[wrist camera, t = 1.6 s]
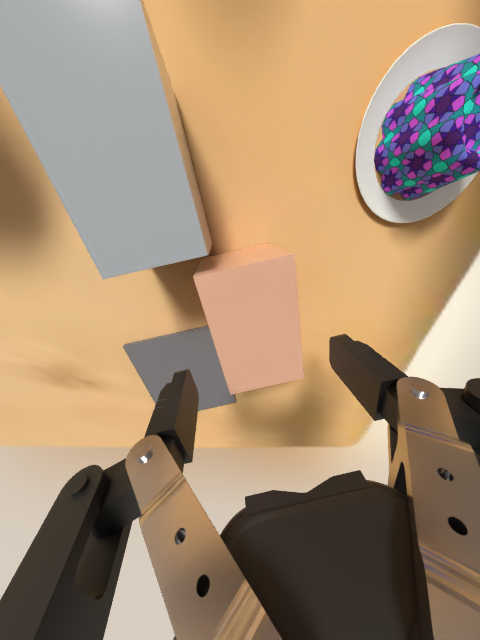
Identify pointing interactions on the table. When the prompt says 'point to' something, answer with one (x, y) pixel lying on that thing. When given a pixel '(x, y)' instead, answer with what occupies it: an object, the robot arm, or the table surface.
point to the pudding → (423, 127)
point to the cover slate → (105, 128)
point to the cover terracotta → (253, 315)
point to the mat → (182, 364)
